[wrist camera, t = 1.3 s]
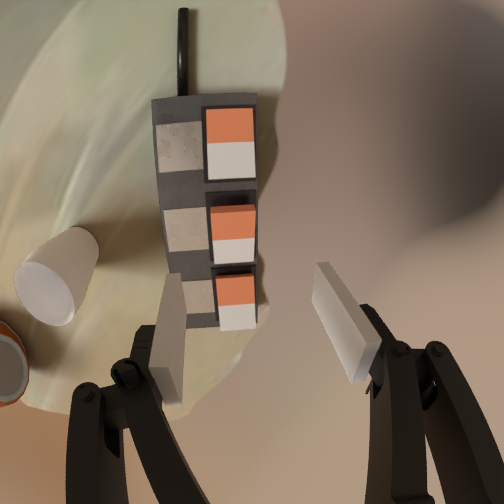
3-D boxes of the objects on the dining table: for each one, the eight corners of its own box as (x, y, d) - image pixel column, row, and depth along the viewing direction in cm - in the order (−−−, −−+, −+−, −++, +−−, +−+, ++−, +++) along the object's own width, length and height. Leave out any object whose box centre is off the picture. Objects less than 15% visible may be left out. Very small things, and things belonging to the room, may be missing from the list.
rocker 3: (215, 276, 34) (215, 279, 33) (252, 273, 35) (253, 276, 34) (220, 326, 36) (220, 331, 35) (254, 324, 36) (255, 328, 35)
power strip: (159, 14, 23) (151, -1, 18) (251, 9, 24) (257, -7, 19) (182, 311, 42) (180, 334, 38) (253, 306, 43) (258, 328, 39)
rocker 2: (210, 206, 29) (210, 213, 28) (254, 204, 29) (255, 210, 28) (214, 257, 33) (214, 264, 32) (252, 254, 34) (253, 261, 33)
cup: (92, 210, 33) (51, 251, 22) (116, 267, 37) (89, 322, 27) (45, 228, 33) (2, 269, 22) (70, 279, 37) (38, 330, 26)
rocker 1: (206, 112, 26) (206, 109, 25) (251, 111, 26) (252, 108, 25) (208, 179, 27) (208, 179, 26) (254, 177, 28) (255, 177, 27)
